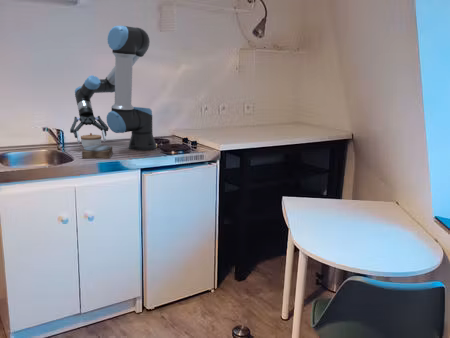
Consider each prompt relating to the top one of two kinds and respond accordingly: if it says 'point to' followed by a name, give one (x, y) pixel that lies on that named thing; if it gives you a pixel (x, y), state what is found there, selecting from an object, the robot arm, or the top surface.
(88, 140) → the lidded jar
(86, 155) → the dish stand
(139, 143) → the robot arm
